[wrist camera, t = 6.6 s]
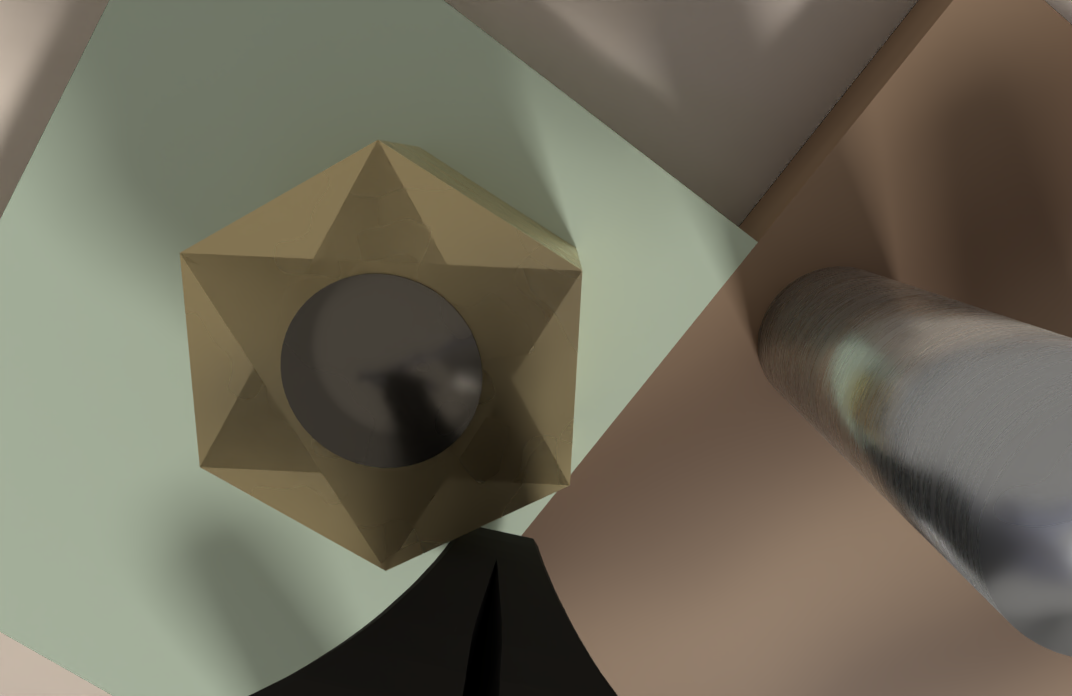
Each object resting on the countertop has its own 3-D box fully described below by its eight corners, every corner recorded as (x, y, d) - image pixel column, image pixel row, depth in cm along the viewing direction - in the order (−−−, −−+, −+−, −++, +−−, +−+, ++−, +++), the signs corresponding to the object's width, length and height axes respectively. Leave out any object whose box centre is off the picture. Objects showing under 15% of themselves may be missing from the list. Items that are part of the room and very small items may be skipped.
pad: (733, 233, 12) (758, 241, 11) (328, 743, 15) (304, 804, 14) (249, -138, 11) (202, -186, 9) (-86, 502, 14) (-160, 540, 12)
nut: (501, 100, 10) (484, 77, 8) (644, 382, 11) (669, 441, 9) (190, 275, 11) (85, 306, 9) (350, 522, 12) (298, 613, 10)
